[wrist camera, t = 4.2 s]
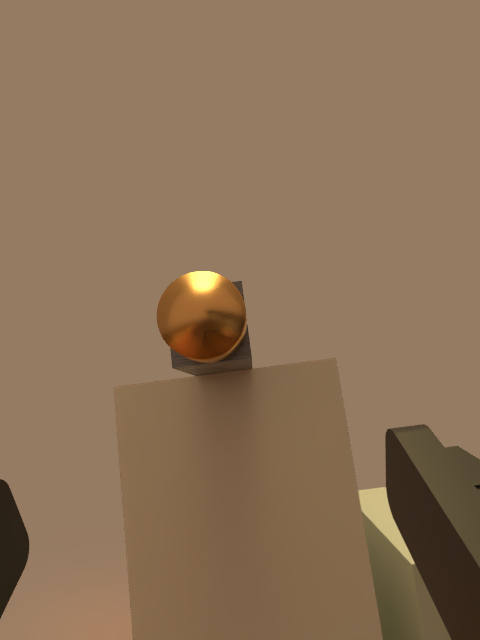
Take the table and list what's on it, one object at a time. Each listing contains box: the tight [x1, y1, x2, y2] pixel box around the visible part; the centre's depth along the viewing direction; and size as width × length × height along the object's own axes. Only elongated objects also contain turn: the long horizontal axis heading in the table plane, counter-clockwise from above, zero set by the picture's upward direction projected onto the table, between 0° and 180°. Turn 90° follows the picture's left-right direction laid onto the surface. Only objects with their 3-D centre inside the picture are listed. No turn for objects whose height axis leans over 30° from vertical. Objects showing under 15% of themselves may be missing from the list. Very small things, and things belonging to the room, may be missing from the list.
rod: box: [157, 271, 252, 376], centre depth 26 cm, size 3×24×3 cm, turn 178°
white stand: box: [114, 358, 383, 640], centre depth 28 cm, size 12×16×32 cm
